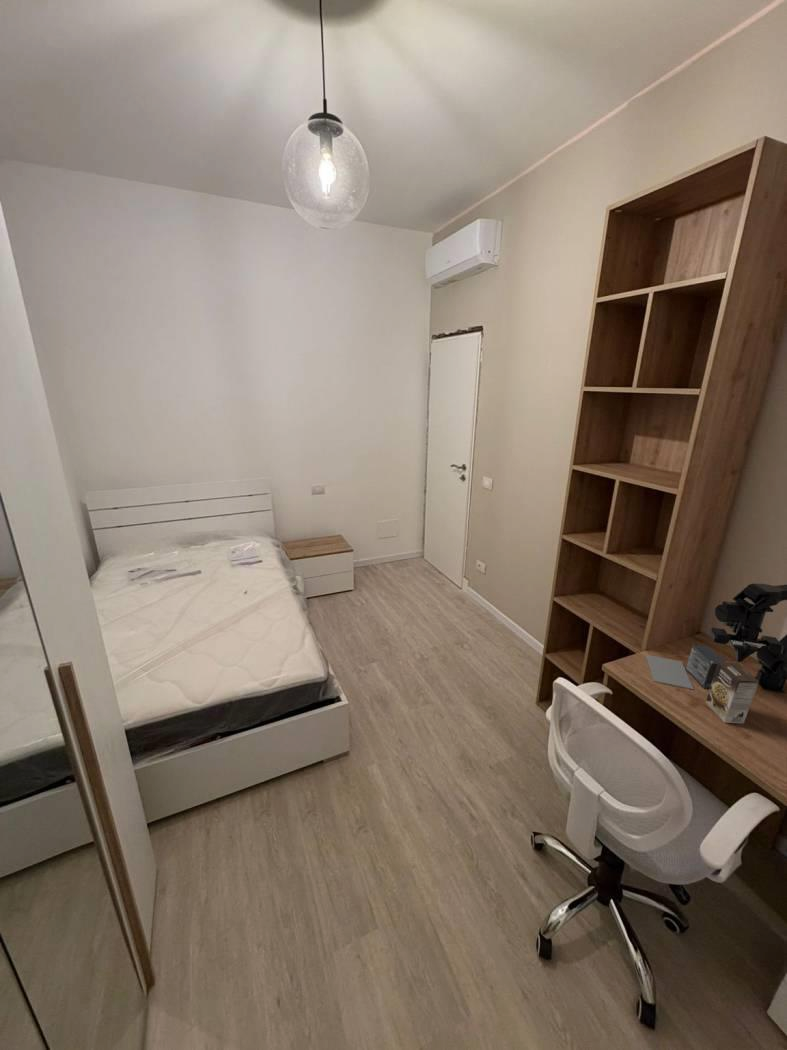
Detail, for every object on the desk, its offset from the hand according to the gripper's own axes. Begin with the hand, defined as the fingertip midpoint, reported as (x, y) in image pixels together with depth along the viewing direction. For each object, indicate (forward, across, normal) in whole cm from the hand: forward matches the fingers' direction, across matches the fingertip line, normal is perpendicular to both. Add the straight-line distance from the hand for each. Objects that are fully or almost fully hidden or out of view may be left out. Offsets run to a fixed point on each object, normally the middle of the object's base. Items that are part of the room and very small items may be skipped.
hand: (738, 661), depth 144 cm
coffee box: (+10, +7, +17) cm, 21 cm away
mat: (+10, +19, 0) cm, 21 cm away
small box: (+10, +8, 0) cm, 13 cm away
